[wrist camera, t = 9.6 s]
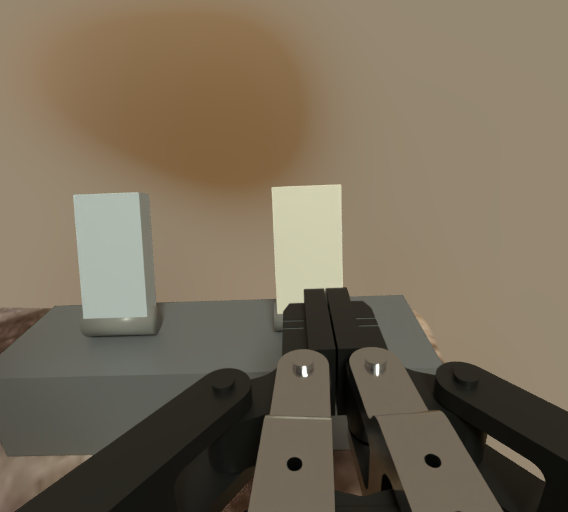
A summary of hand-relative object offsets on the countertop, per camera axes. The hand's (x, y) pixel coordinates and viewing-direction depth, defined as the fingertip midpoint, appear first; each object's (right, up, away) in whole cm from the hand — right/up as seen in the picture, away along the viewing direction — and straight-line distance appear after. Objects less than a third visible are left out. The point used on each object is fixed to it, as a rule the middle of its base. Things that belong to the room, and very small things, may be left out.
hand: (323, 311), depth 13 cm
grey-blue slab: (-12, -2, +11) cm, 16 cm away
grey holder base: (-5, -8, +13) cm, 17 cm away
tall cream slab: (0, -2, +10) cm, 11 cm away
